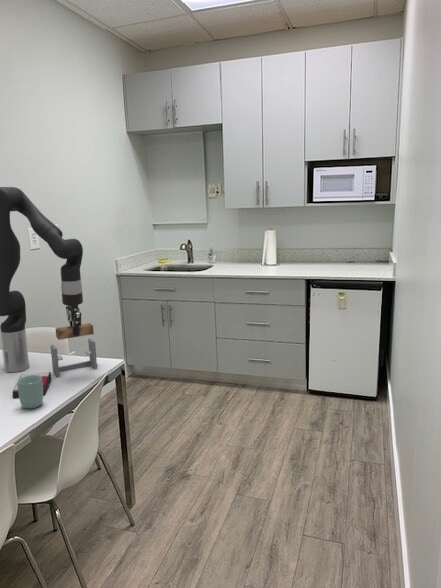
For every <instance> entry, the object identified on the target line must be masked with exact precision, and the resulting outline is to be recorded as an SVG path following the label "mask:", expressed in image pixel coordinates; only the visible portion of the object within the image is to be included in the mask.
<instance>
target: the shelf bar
mask: <svg viewBox="0 0 441 588" xmlns="http://www.w3.org/2000/svg"><path fill="white" fill-rule="evenodd" d="M79 331H80V335H79V336H74V334H73V326H70V325H69V326H64V327H62V326H61V327H55V338H56V339H57V340H67V339H71V338H72V339H73V338H78V337H84V336H90V335H94V325H93V324H92V323H90V322H89V323H83V324H82V323H81V326H79Z"/></svg>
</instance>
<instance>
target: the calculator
mask: <svg viewBox="0 0 441 588" xmlns="http://www.w3.org/2000/svg"><path fill="white" fill-rule="evenodd" d="M28 375H39V376H41V377H42V382H43V397H45V396H46V394H47V392H48V389H49V386H50V384H51V382H52V373H51V371H41V372H40V371H39V372H31V373H30V372H27V373H22V374H20V377H19V378H18V380H19V379H20V378H22V377H24V376H28ZM11 393H12V399H19V394H18V386H17V383H16V384H15V386H14V388H13V390H12V392H11Z"/></svg>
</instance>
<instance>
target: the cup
mask: <svg viewBox="0 0 441 588" xmlns="http://www.w3.org/2000/svg"><path fill="white" fill-rule="evenodd" d="M19 378H20V377H19ZM19 378H18V379H17V381H16V384H17V386H18V394H19V398H18V399H19V402H20V404H21V406H22V407H23V408H25V409H35V408H38V407H39V406H41V404H42V403H43V401H44V396H43V382H42V377H41V376H39V375H28V376H24V377H22V378H20V379H19Z"/></svg>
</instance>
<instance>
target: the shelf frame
mask: <svg viewBox="0 0 441 588" xmlns="http://www.w3.org/2000/svg"><path fill="white" fill-rule="evenodd" d="M87 341H88V349H86V350H84V353H85V354H86V355H87V356H89V360H87V361H80V362H77V363H70V364H66V365H61V366H59V361H63V356H62V355H60V354H58V348H57V347H56V345H54V344H50V356H51V365H52V373H53V375H54V376H55V378H60V373H62V372H68V371H71V370H77V369H82V368H86V367H92V369H93V370H97V369H98V364H97V363H98V362H97V348H96V347H97V346H96V341H95V340H94V339H93V338H92V337H90V338H88V339H87Z"/></svg>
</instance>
